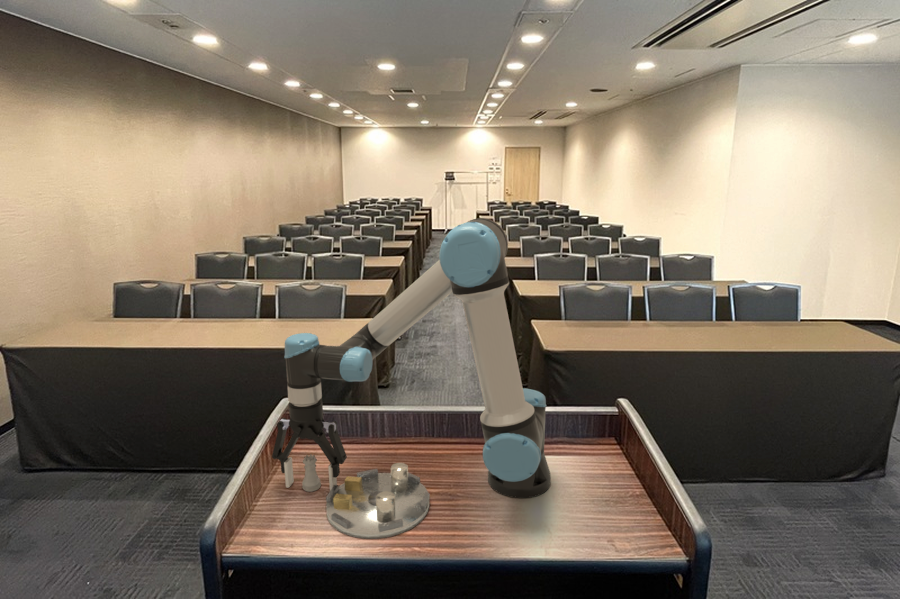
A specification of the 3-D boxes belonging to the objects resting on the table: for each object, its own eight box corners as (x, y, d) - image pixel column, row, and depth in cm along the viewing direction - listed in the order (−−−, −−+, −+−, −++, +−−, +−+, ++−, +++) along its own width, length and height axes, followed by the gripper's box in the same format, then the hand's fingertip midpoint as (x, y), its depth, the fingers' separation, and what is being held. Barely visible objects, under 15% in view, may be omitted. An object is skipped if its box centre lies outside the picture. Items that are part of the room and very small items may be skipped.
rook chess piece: (316, 493, 130) (314, 462, 129) (298, 491, 131) (296, 460, 130) (324, 483, 135) (322, 453, 133) (307, 481, 136) (305, 451, 134)
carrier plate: (437, 482, 135) (437, 457, 133) (417, 543, 113) (416, 515, 111) (346, 474, 138) (345, 451, 137) (310, 533, 116) (307, 505, 115)
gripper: (358, 396, 130) (362, 481, 135) (266, 391, 133) (273, 474, 138) (347, 410, 123) (352, 499, 128) (251, 404, 126) (259, 491, 131)
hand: (311, 486), depth 133 cm, fingers open, 10 cm apart
